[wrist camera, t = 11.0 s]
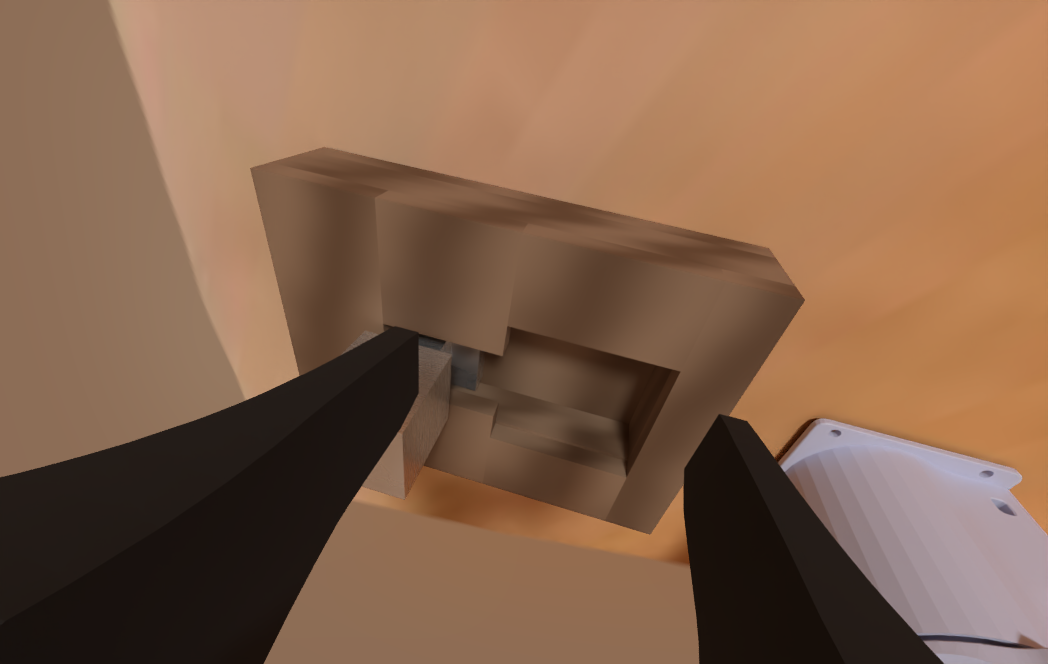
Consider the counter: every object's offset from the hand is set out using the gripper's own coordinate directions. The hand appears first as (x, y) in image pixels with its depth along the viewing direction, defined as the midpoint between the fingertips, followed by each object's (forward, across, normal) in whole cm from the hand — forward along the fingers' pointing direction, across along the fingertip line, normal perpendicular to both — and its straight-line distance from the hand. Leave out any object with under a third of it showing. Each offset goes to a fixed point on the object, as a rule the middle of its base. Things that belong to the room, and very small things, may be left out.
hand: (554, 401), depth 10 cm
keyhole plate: (+10, +3, +6) cm, 12 cm away
